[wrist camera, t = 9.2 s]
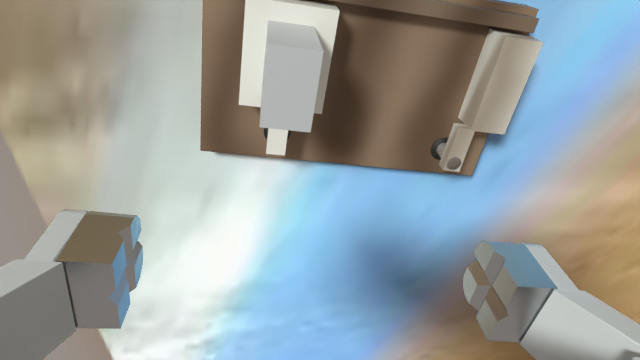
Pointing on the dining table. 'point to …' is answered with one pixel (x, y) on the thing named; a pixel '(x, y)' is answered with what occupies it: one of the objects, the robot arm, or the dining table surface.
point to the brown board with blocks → (385, 83)
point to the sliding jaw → (286, 64)
